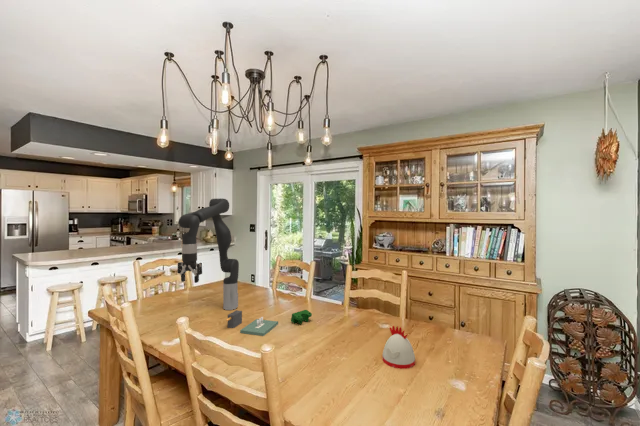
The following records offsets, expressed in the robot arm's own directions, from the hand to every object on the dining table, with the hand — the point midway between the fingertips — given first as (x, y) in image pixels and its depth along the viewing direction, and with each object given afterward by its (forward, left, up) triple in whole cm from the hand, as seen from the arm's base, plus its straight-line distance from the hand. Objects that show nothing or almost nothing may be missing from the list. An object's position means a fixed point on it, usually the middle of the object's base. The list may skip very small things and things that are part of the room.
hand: (189, 281), depth 167 cm
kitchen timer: (-1, +110, -28) cm, 113 cm away
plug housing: (-14, +18, -27) cm, 35 cm away
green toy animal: (-32, +53, -28) cm, 67 cm away
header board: (-16, +34, -27) cm, 46 cm away
